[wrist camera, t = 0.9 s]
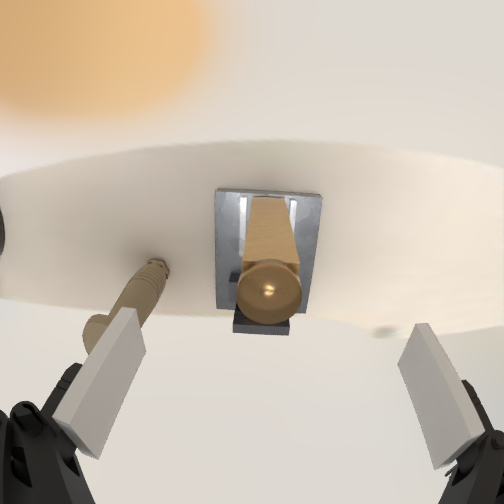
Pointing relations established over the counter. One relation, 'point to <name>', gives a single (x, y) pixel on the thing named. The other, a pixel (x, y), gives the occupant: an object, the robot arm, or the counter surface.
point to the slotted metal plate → (233, 241)
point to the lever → (269, 264)
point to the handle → (130, 301)
